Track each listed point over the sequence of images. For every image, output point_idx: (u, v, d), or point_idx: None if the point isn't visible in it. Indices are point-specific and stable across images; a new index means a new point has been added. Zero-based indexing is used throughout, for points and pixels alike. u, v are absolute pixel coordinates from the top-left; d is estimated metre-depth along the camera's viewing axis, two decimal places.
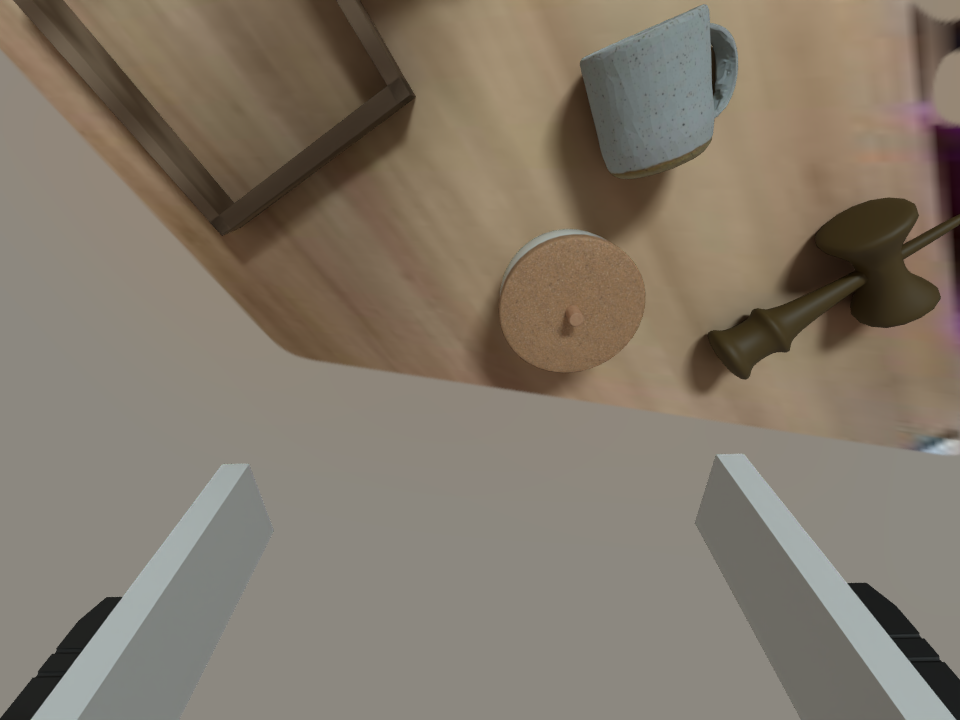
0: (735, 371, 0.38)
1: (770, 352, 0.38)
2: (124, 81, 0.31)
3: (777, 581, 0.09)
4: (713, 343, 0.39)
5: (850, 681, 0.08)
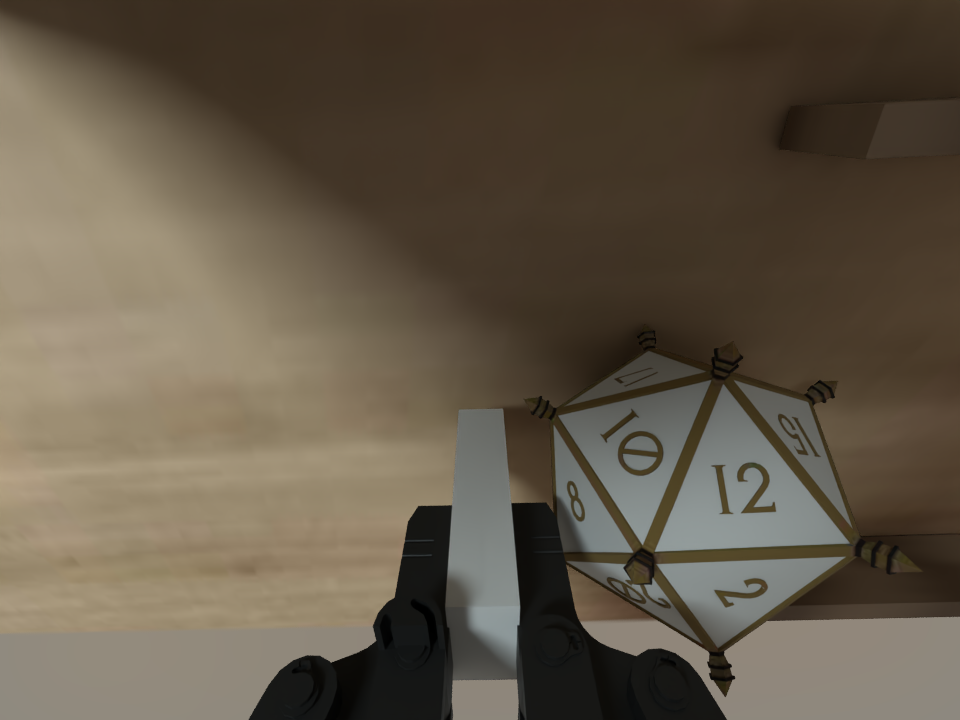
0: None
1: None
2: None
3: None
4: None
5: None
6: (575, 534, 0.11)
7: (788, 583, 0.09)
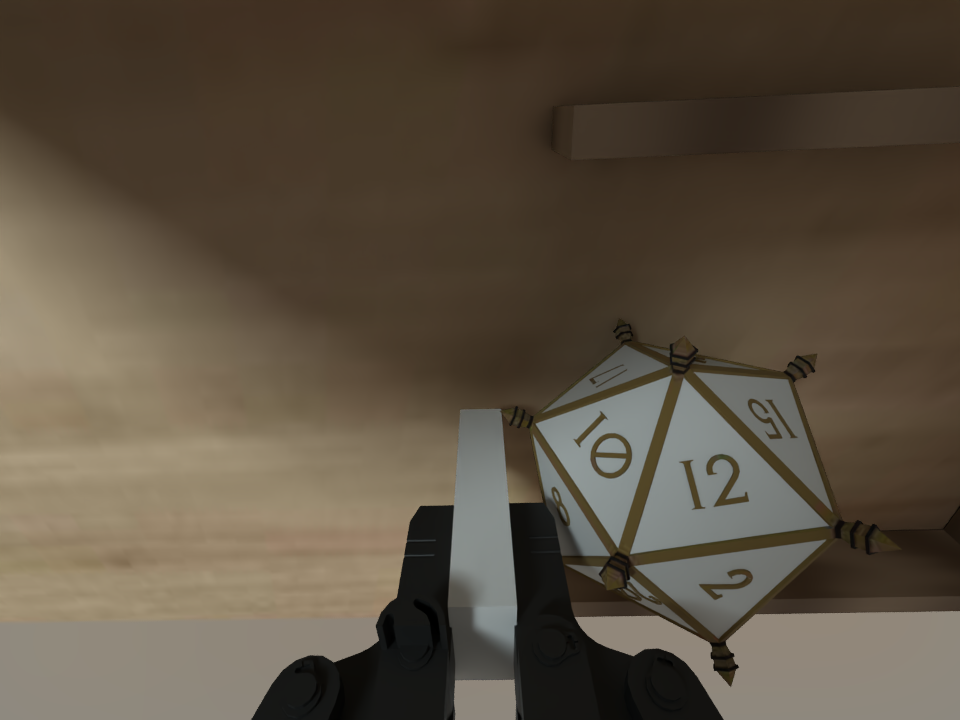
0: None
1: None
2: None
3: None
4: None
5: None
6: (565, 538, 0.12)
7: (774, 570, 0.09)
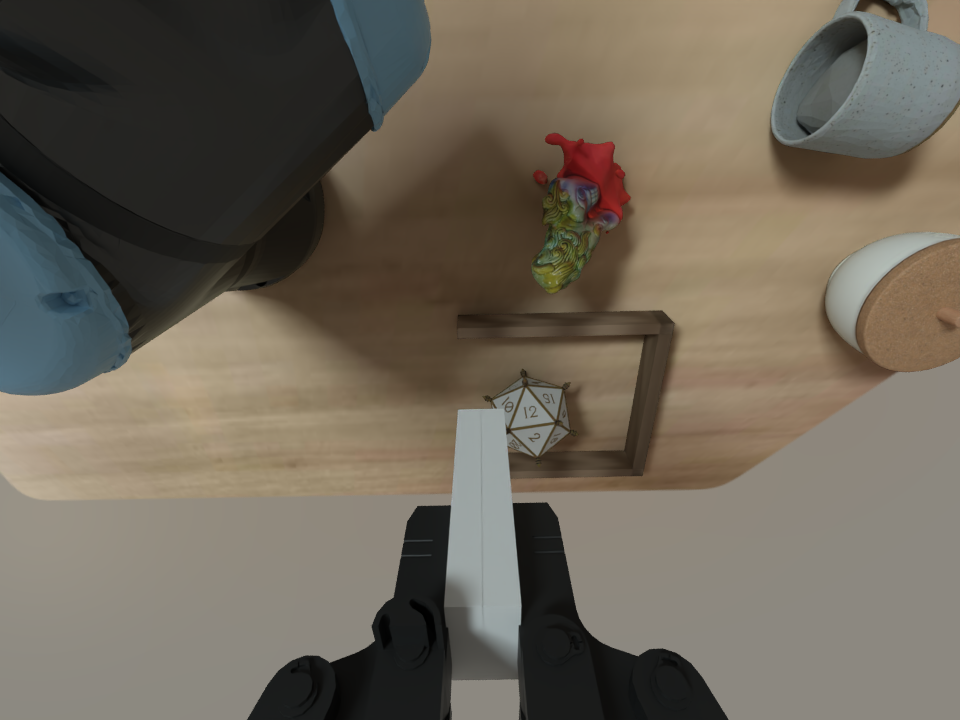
0: None
1: None
2: None
3: None
4: None
5: None
6: None
7: (545, 433, 0.39)
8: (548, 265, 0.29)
